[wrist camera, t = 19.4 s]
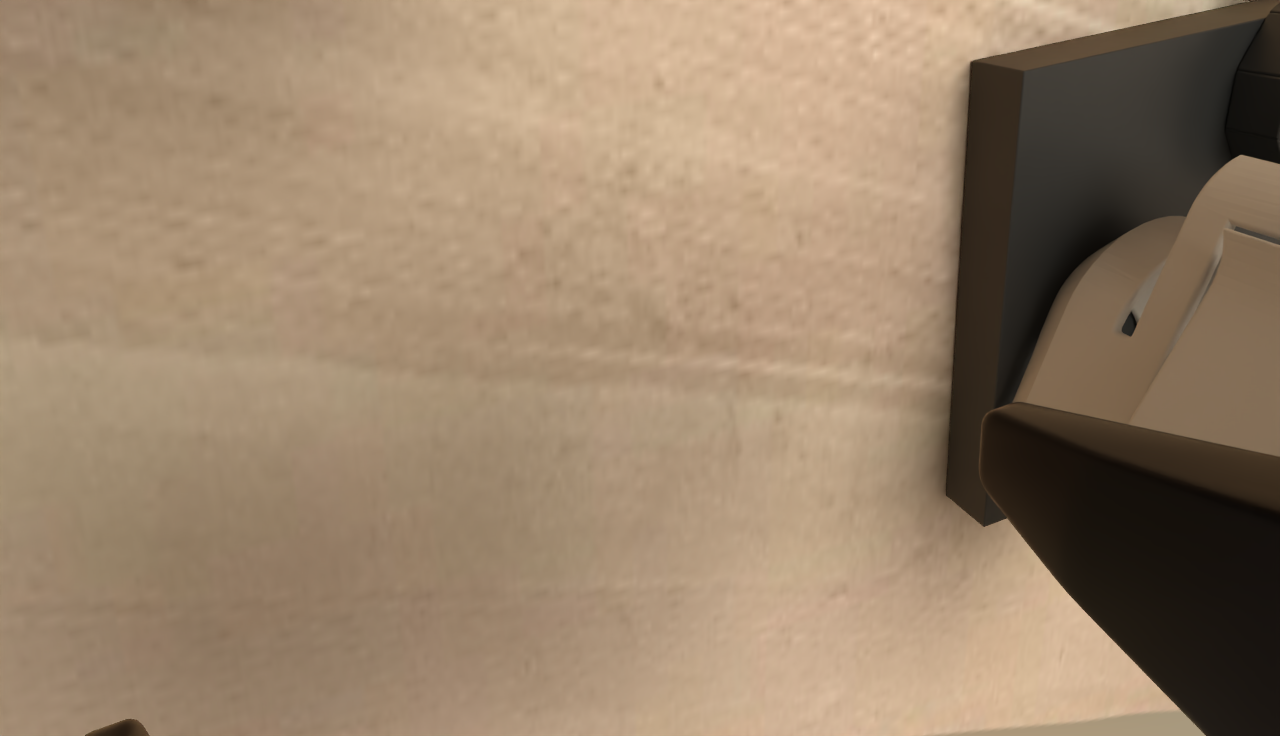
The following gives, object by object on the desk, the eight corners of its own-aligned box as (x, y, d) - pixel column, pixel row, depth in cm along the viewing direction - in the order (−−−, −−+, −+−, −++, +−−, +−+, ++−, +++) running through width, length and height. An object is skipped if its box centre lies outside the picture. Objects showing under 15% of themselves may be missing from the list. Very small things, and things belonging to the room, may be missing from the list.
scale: (973, 21, 23) (1079, 37, 20) (1344, -53, 27) (1479, -48, 24) (945, 495, 30) (1019, 557, 27) (1239, 389, 34) (1333, 434, 31)
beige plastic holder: (1247, 158, 26) (1874, 312, 16) (1074, 526, 30) (1480, 829, 20) (1083, 115, 23) (1717, 269, 13) (918, 528, 28) (1300, 879, 18)
